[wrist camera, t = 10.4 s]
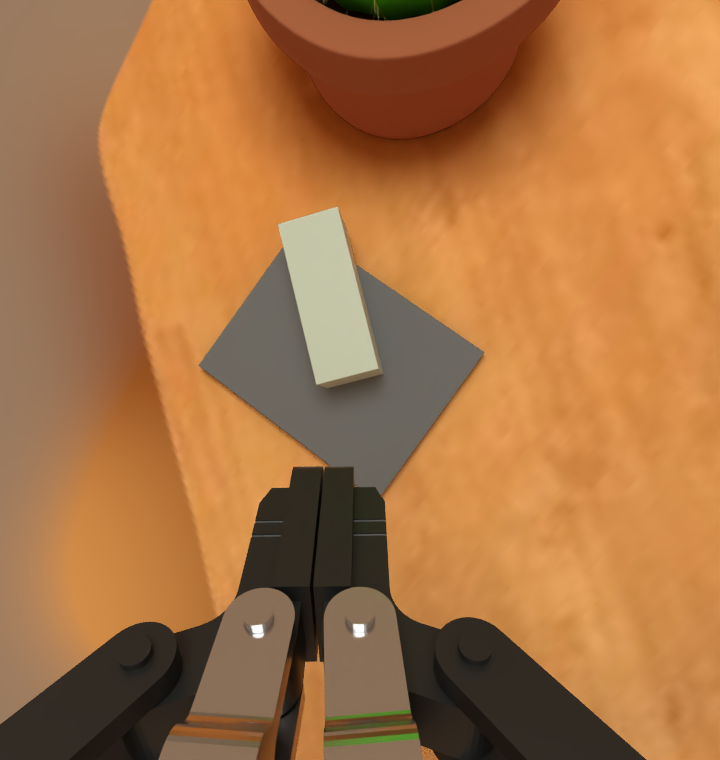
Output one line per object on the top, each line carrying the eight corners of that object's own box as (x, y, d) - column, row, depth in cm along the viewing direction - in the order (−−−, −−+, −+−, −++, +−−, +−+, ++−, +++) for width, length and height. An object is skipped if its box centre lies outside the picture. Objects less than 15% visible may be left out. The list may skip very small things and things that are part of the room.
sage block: (378, 368, 36) (337, 206, 37) (316, 384, 37) (278, 224, 38) (383, 373, 41) (346, 229, 42) (328, 388, 41) (293, 244, 42)
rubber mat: (482, 354, 41) (484, 352, 40) (378, 499, 41) (377, 501, 40) (301, 229, 43) (298, 225, 42) (203, 366, 43) (198, 365, 42)
